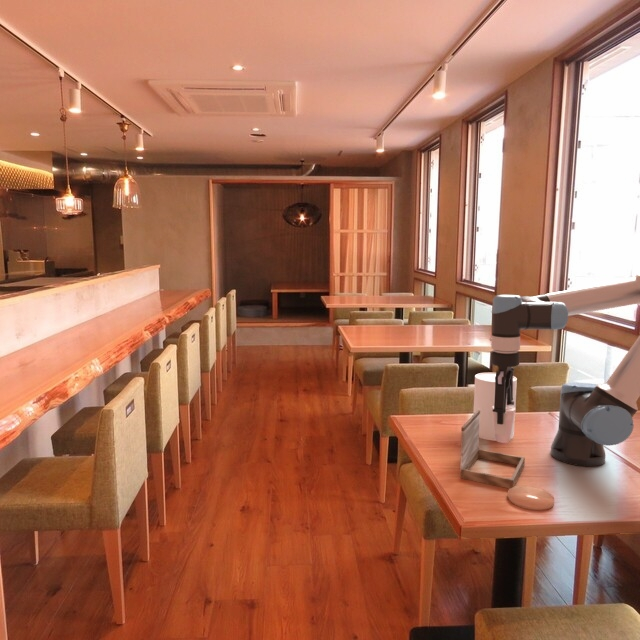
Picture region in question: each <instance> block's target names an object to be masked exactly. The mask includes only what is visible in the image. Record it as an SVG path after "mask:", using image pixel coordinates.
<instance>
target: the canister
mask: <svg viewBox="0 0 640 640" xmlns="http://www.w3.org/2000/svg"><path fill="white" fill-rule="evenodd" d="M495 376H496V372H480V373H477V374H475V375H474V390H473V391H474V393H473V414H472V415H474V414H475V412H476V411H477V410H480V419H479V439H483V440H487V441H494V442H497V441H496V436H495V427H494V417H493V411H492V406H494V402H495ZM517 380H518V378H517V377H516V376H514V375H513V400H512V401H513V402H514V405H511V406H513V407H514V408H515V409H516V402H517V401H516V400H517V384H518V383H517V382H518V381H517ZM515 418H516V412H515V413H514V418H513V424H512V430H511V436H510V440H512V439H513V438H514V437H515V422H516V421H515Z"/></svg>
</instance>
